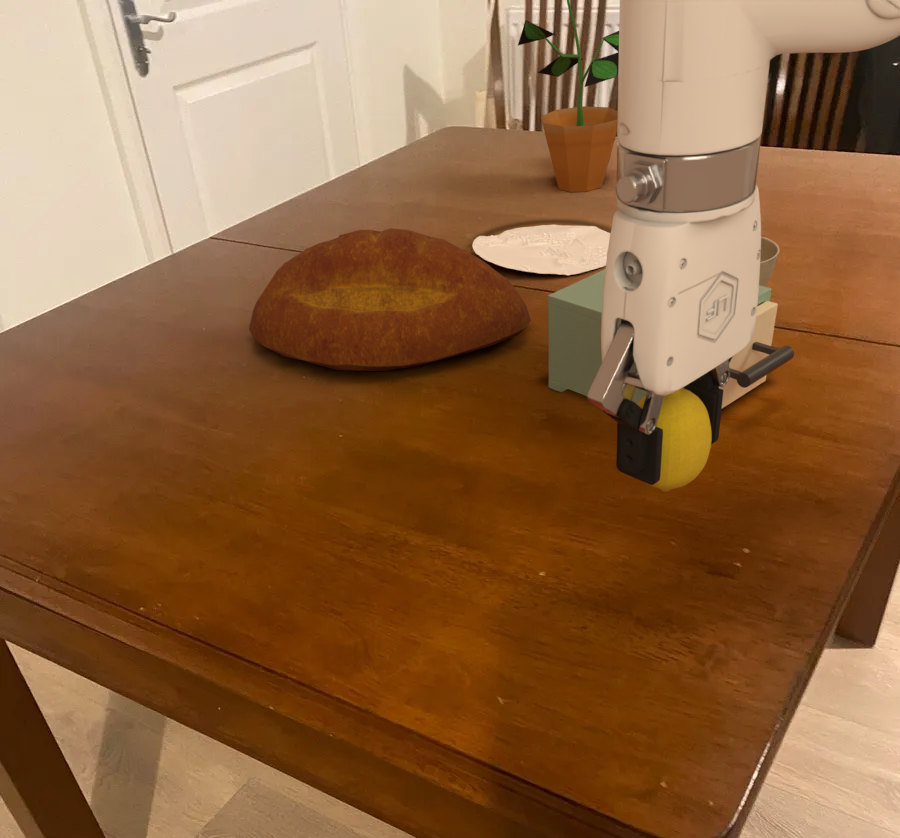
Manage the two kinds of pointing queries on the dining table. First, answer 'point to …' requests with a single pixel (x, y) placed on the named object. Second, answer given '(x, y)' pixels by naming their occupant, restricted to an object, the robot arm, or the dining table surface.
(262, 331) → the bread
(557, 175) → the potted plant
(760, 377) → the drawer
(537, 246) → the plaque
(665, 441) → the lemon
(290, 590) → the dining table surface
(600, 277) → the cabinet
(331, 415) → the dining table surface
